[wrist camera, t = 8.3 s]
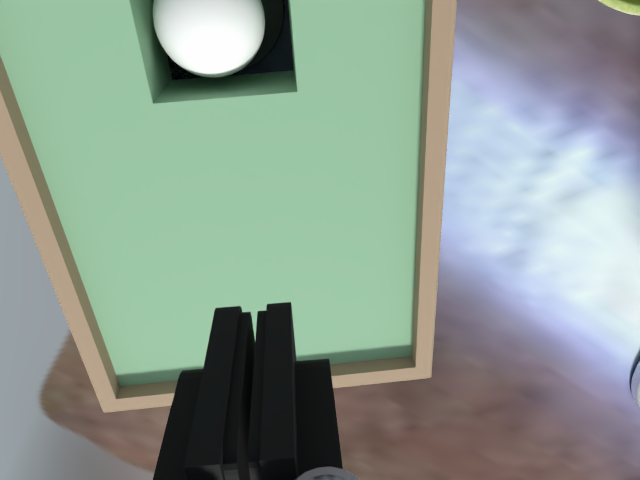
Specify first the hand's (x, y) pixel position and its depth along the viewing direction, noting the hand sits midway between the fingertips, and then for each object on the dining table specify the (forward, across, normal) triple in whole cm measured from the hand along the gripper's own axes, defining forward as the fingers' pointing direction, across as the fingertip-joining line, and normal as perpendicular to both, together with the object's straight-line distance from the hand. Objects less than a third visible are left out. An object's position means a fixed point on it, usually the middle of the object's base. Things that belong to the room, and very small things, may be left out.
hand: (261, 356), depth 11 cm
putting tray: (+19, +2, +1) cm, 19 cm away
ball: (+16, +2, -6) cm, 17 cm away
